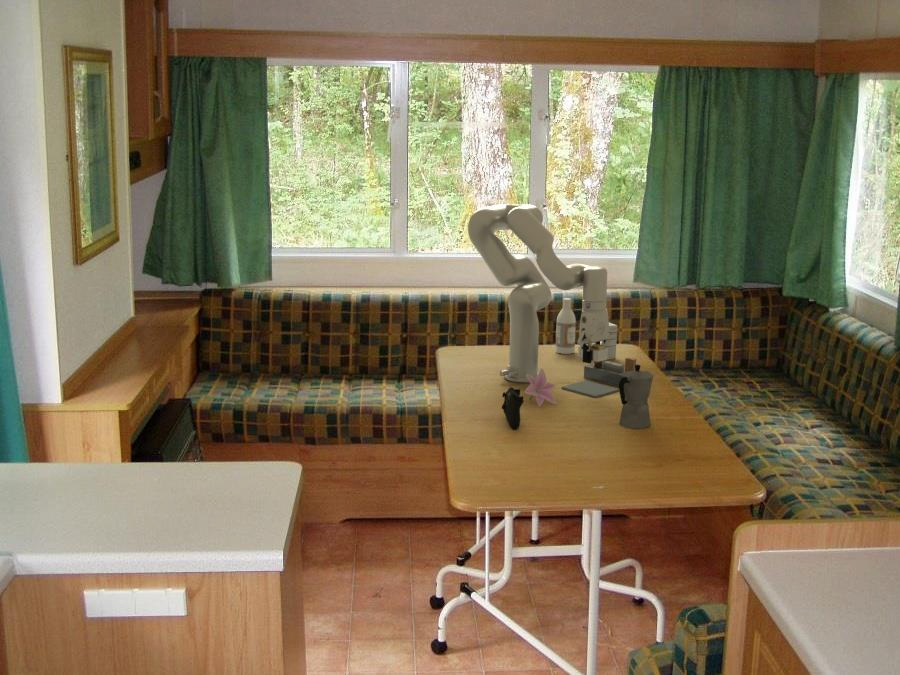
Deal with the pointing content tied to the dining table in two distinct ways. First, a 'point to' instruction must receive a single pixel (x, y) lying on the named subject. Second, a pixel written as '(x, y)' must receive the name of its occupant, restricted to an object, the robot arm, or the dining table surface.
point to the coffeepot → (635, 398)
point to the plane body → (608, 371)
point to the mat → (590, 389)
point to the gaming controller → (512, 407)
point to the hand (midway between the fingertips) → (592, 360)
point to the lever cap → (596, 352)
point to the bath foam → (565, 329)
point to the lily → (540, 388)
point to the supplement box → (611, 341)
